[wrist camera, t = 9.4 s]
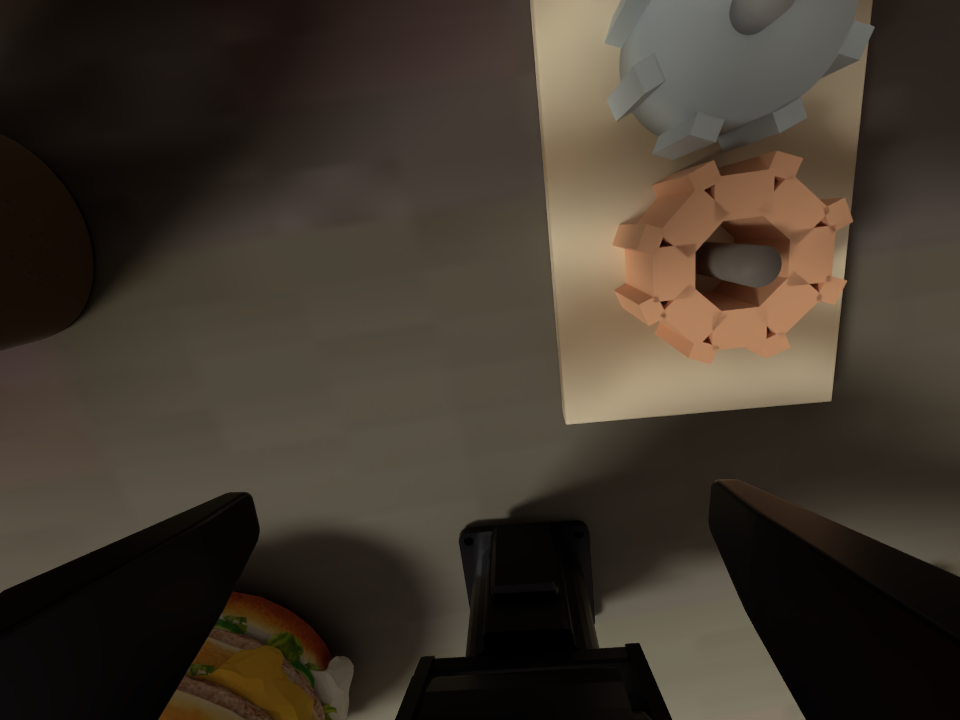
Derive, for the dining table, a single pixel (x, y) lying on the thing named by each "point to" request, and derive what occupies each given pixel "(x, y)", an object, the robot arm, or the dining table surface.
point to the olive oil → (39, 250)
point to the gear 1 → (726, 65)
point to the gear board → (626, 197)
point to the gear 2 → (750, 220)
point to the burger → (262, 669)
